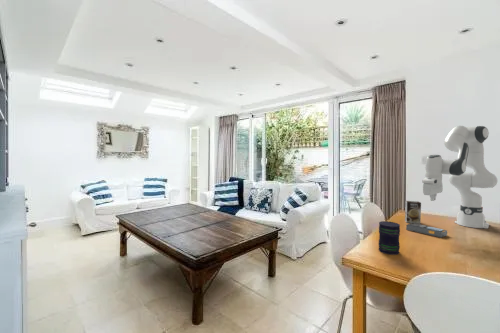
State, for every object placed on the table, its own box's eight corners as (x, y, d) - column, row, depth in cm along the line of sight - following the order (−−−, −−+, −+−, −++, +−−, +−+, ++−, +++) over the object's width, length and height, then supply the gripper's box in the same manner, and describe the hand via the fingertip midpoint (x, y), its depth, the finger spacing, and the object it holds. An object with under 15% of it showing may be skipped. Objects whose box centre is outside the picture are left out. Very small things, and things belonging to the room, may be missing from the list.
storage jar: (399, 256, 124) (400, 227, 123) (377, 252, 129) (378, 224, 128) (399, 250, 132) (400, 222, 131) (379, 246, 137) (379, 220, 137)
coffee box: (406, 222, 186) (407, 201, 185) (404, 220, 192) (405, 200, 191) (420, 223, 182) (421, 202, 181) (418, 221, 188) (419, 201, 187)
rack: (412, 227, 173) (412, 222, 172) (447, 235, 155) (447, 229, 155) (406, 229, 168) (406, 224, 168) (441, 238, 151) (441, 231, 151)
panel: (429, 231, 162) (429, 226, 162) (443, 234, 156) (443, 229, 156) (426, 232, 160) (426, 227, 159) (439, 235, 153) (440, 230, 153)
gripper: (434, 178, 168) (434, 197, 168) (420, 180, 157) (420, 201, 157) (445, 178, 162) (445, 199, 163) (432, 181, 151) (431, 203, 152)
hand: (433, 200), depth 160 cm, fingers closed
